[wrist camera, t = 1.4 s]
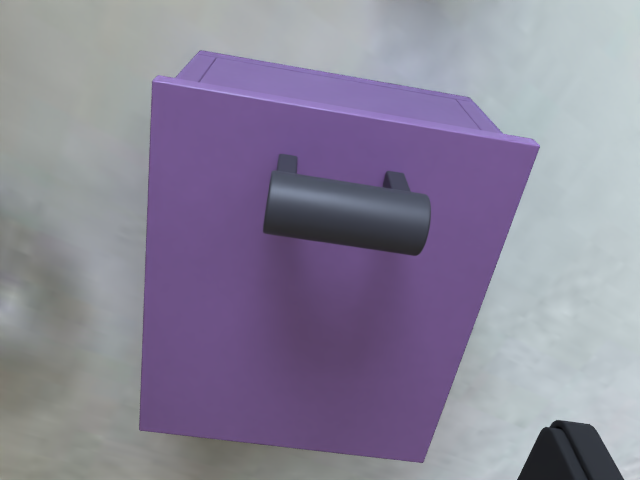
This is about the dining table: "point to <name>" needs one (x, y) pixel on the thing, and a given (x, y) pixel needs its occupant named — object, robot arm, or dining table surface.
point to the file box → (335, 90)
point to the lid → (314, 267)
